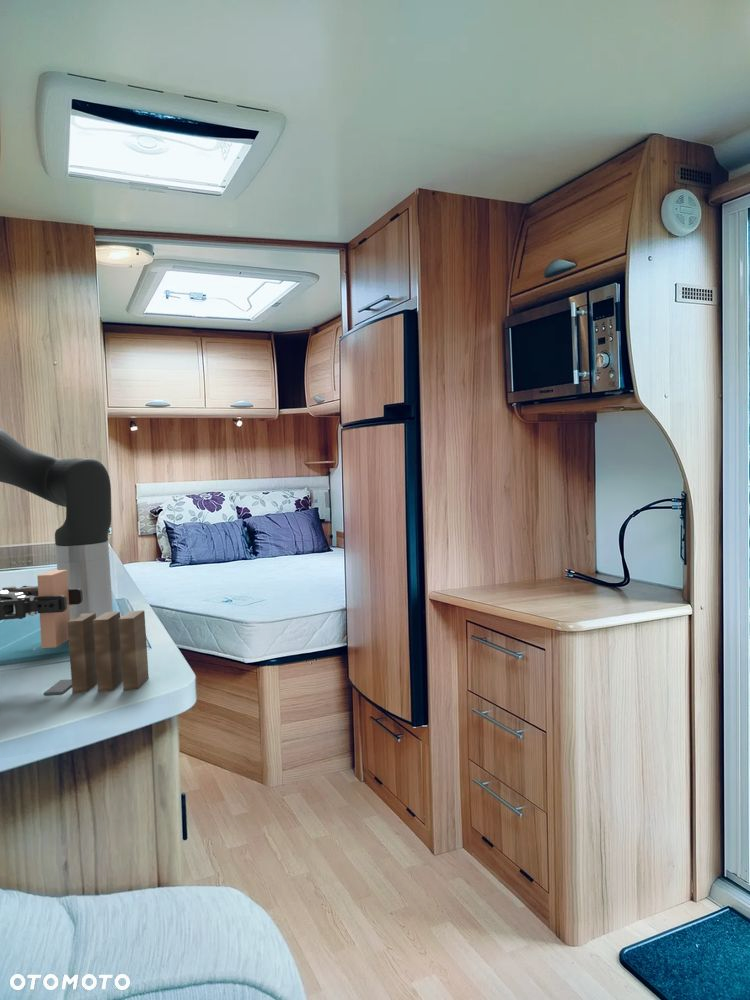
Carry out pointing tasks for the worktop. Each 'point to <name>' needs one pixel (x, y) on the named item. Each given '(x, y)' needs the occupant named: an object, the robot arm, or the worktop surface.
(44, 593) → the salmon pink domino
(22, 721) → the worktop surface
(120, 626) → the walnut domino
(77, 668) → the walnut domino
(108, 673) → the walnut domino
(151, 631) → the worktop surface
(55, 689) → the pad
